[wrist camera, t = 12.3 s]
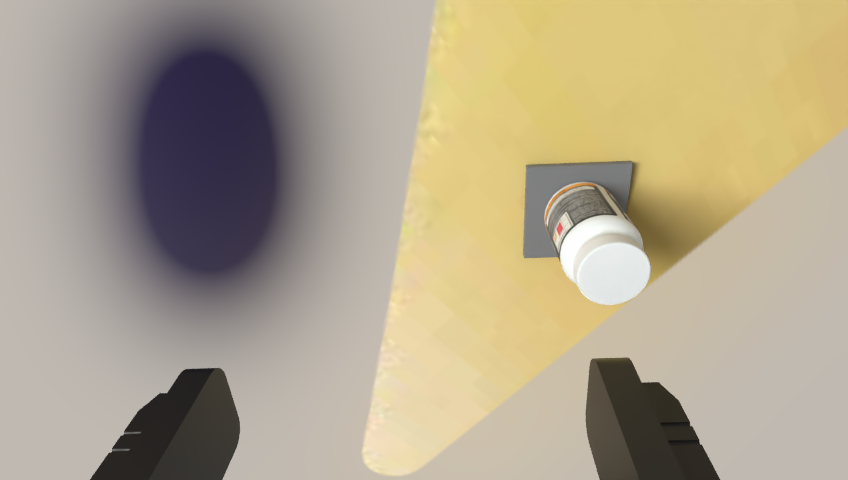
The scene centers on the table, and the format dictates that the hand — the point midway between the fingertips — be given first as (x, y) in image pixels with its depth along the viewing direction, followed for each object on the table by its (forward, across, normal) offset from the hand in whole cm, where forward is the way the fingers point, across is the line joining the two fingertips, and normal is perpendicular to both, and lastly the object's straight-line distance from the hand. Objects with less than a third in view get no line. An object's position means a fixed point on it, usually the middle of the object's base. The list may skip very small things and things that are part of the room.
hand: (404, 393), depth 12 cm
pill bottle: (+31, -11, +10) cm, 34 cm away
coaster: (+31, -10, +10) cm, 35 cm away
